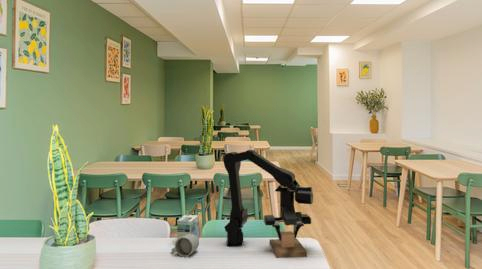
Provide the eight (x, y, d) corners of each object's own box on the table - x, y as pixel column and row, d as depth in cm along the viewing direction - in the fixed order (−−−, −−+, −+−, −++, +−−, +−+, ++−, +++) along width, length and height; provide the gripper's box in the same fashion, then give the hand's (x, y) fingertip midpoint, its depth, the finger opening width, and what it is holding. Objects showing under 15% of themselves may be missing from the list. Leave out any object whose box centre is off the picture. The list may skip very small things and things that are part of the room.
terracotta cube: (282, 247, 147) (282, 235, 147) (280, 243, 152) (279, 231, 152) (294, 247, 147) (294, 234, 147) (291, 243, 152) (291, 231, 152)
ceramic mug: (200, 250, 150) (200, 232, 150) (192, 257, 142) (192, 238, 142) (176, 248, 153) (176, 230, 152) (167, 255, 145) (167, 236, 145)
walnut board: (276, 257, 141) (276, 252, 141) (269, 244, 157) (269, 239, 157) (306, 256, 142) (306, 251, 142) (296, 243, 158) (296, 238, 158)
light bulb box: (191, 246, 155) (191, 221, 155) (176, 245, 157) (176, 220, 156) (199, 238, 166) (199, 214, 166) (185, 237, 167) (185, 214, 167)
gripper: (267, 207, 140) (267, 247, 141) (315, 206, 142) (315, 246, 143) (263, 201, 152) (263, 238, 152) (307, 200, 153) (307, 237, 154)
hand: (287, 240), depth 150 cm, fingers open, 6 cm apart
